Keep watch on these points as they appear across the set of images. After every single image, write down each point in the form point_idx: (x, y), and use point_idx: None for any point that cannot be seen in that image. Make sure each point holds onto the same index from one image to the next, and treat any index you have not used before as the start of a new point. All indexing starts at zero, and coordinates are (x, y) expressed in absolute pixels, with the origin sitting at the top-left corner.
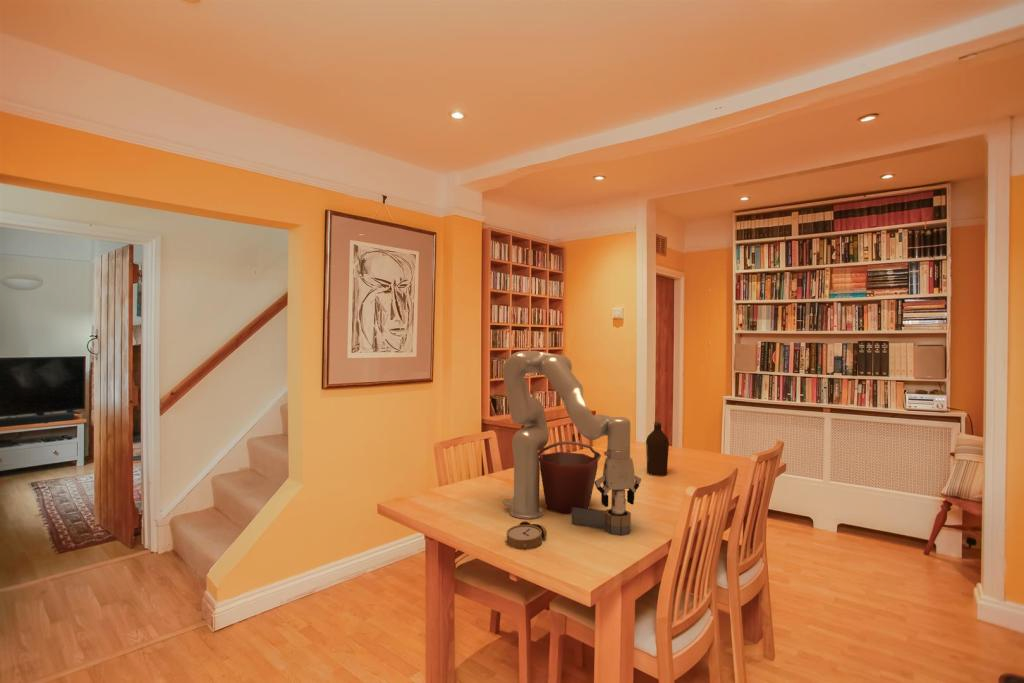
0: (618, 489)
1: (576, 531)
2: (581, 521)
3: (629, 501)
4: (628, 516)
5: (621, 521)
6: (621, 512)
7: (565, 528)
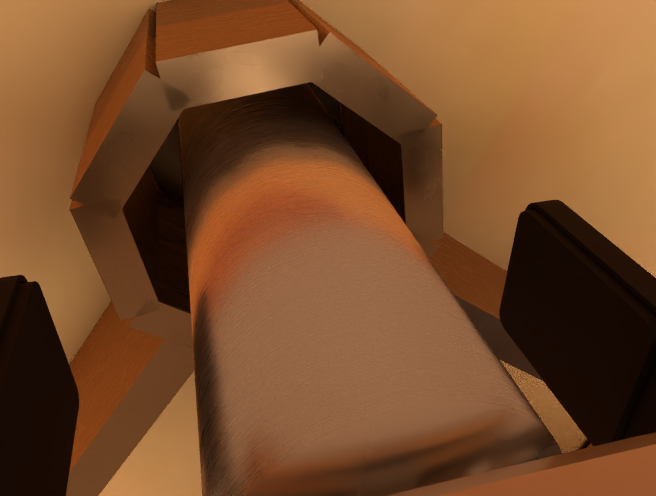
0: (551, 458)
1: (595, 167)
2: None
3: (54, 358)
4: (172, 59)
5: (301, 16)
6: (279, 139)
7: (624, 232)
